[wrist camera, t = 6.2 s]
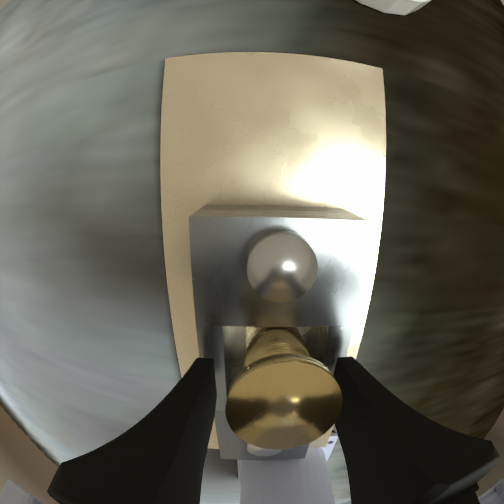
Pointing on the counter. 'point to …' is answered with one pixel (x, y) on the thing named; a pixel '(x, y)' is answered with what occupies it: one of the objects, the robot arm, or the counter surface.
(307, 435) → the brass knob
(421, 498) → the robot arm
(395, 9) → the white cup
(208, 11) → the counter surface
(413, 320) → the counter surface
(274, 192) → the door lock with knob
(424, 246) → the counter surface
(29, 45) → the counter surface
